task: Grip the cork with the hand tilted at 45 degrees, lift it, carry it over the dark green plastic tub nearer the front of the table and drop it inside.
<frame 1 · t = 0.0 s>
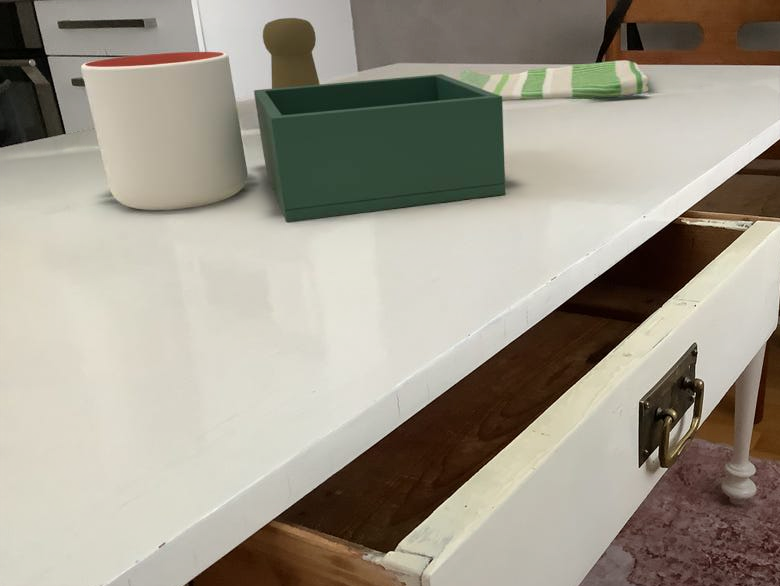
cup: (183, 199, 64), on the table
tub: (377, 184, 65), on the table
dish towel: (548, 94, 106), on the table
cork: (302, 132, 89), on the table
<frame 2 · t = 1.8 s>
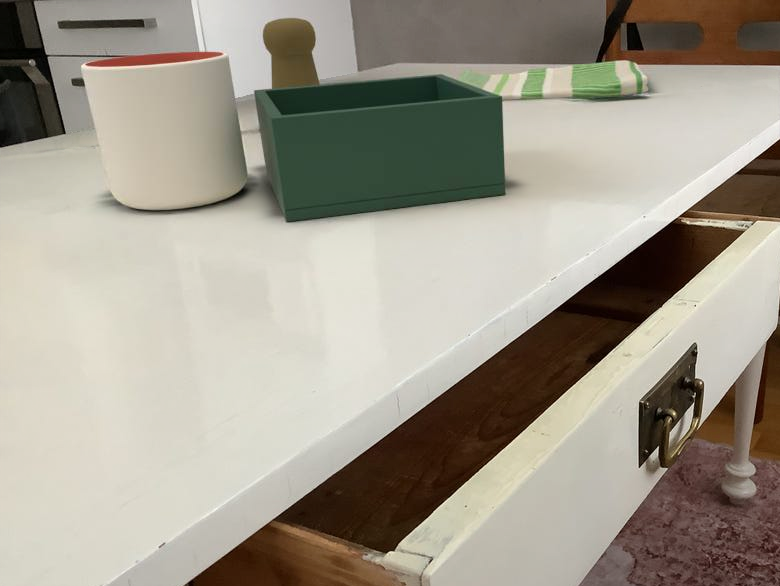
nothing on the table moved.
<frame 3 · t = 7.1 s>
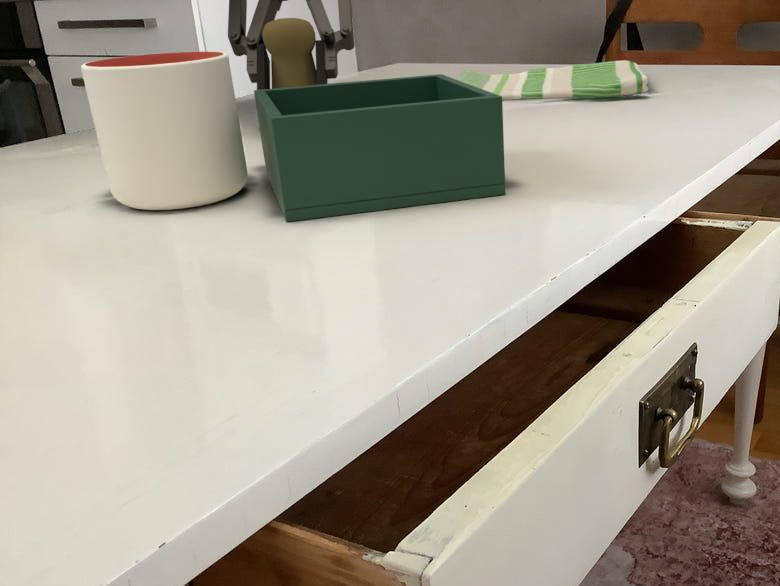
hand: (293, 103, 84), 3 cm above the table, tool tilted 45°, fingers closed on cork, 5 cm apart
cork: (302, 132, 89), on the table, touching gripper
everything else where it was.
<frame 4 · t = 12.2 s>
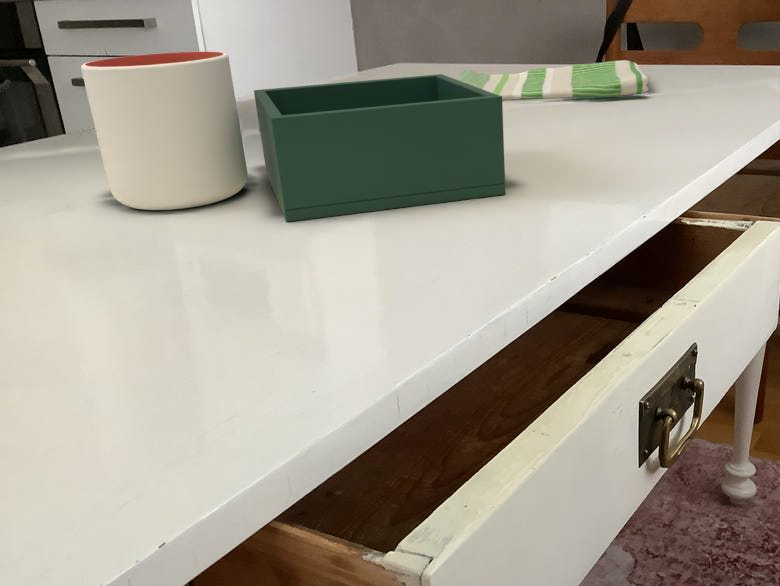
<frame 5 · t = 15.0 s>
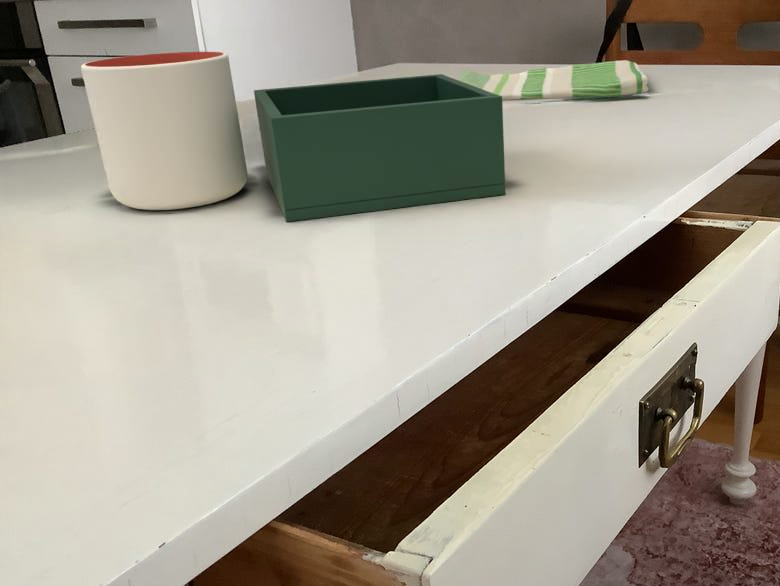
when the fingers open (8 cm above the table, at t = 17.6 s): cork drops 4 cm, resting on tub.
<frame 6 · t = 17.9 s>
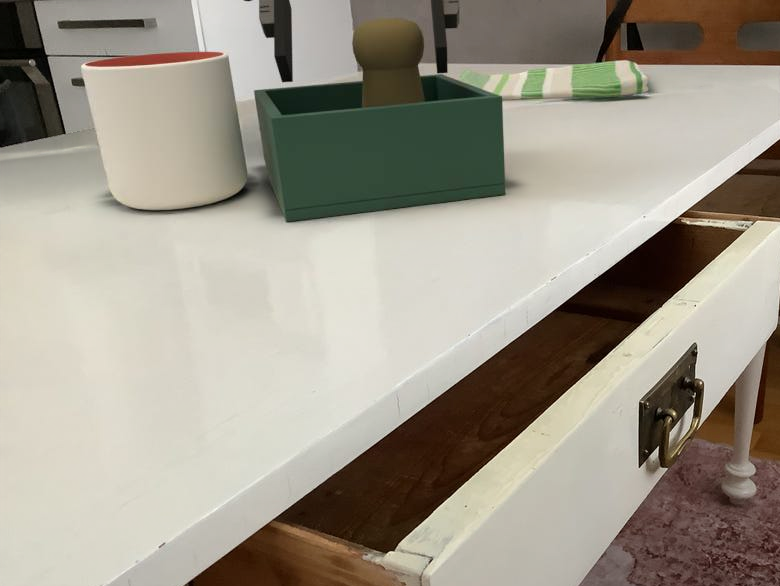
hand: (363, 65, 59), 9 cm above the table, tool tilted 45°, fingers open, 10 cm apart
cork: (399, 174, 65), point 1 cm above the table, touching tub
everything else where it was.
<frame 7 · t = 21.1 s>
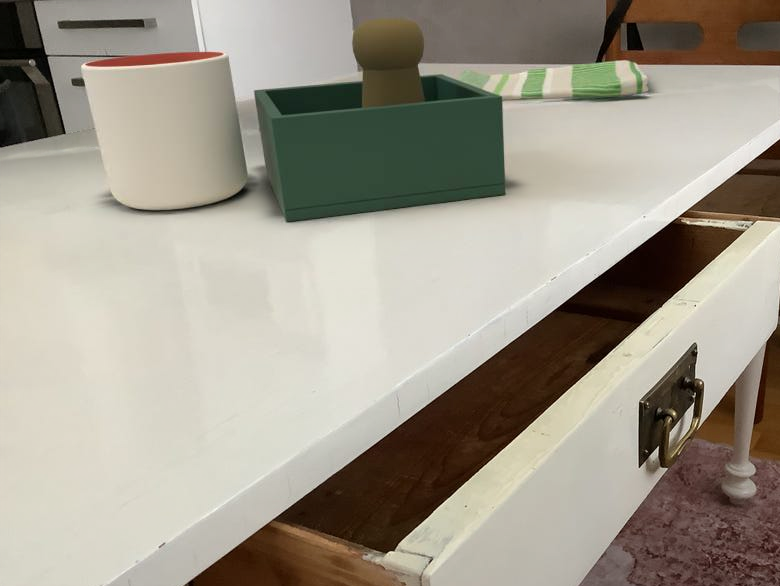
nothing on the table moved.
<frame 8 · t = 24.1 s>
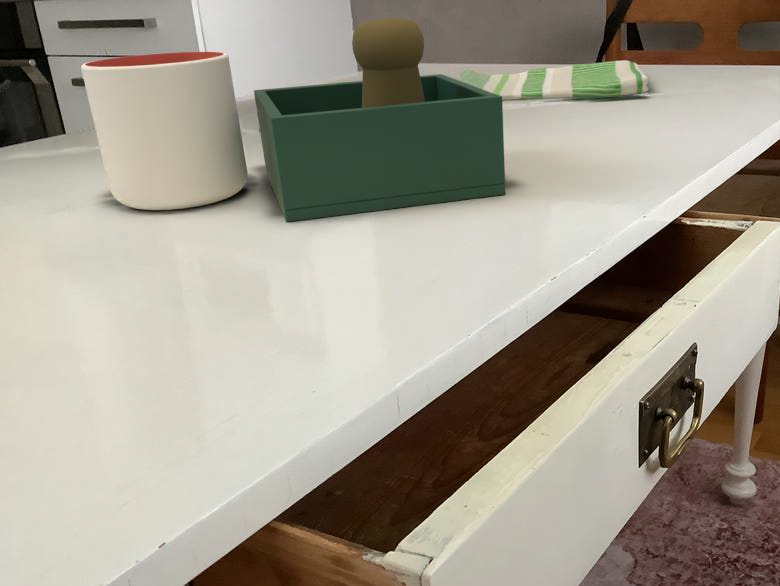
nothing on the table moved.
at the end: cork inside the target area in the tub (1.8 cm from its centre), point 0.6 cm above the tub's base; the gripper is holding nothing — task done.
